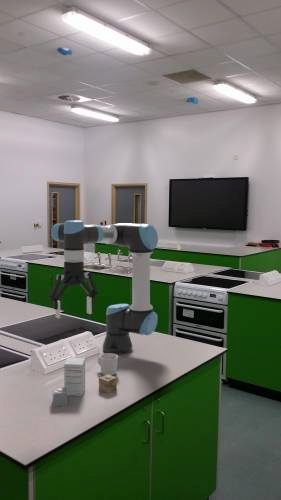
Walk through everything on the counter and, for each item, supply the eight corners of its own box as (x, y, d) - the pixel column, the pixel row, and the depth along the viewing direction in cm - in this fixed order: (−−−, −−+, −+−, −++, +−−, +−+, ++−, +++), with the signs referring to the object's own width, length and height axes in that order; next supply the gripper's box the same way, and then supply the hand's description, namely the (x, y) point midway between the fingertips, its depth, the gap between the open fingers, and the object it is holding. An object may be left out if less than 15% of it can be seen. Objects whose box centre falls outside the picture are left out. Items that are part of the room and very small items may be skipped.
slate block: (66, 399, 165) (66, 386, 164) (67, 405, 160) (67, 392, 160) (52, 400, 164) (52, 387, 163) (53, 406, 159) (53, 393, 158)
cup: (91, 372, 192) (91, 354, 191) (105, 367, 198) (105, 350, 197) (108, 379, 185) (108, 360, 184) (121, 373, 191) (121, 356, 190)
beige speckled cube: (107, 385, 178) (107, 373, 178) (116, 389, 175) (116, 377, 174) (98, 389, 174) (98, 377, 174) (107, 393, 171) (107, 380, 170)
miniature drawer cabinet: (67, 387, 176) (67, 357, 174) (85, 388, 176) (85, 357, 174) (63, 395, 168) (63, 363, 167) (82, 396, 168) (82, 364, 167)
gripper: (97, 258, 177) (97, 309, 179) (39, 261, 163) (39, 317, 165) (106, 260, 170) (106, 313, 173) (46, 263, 157) (47, 321, 159)
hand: (73, 315), depth 169 cm, fingers open, 12 cm apart
